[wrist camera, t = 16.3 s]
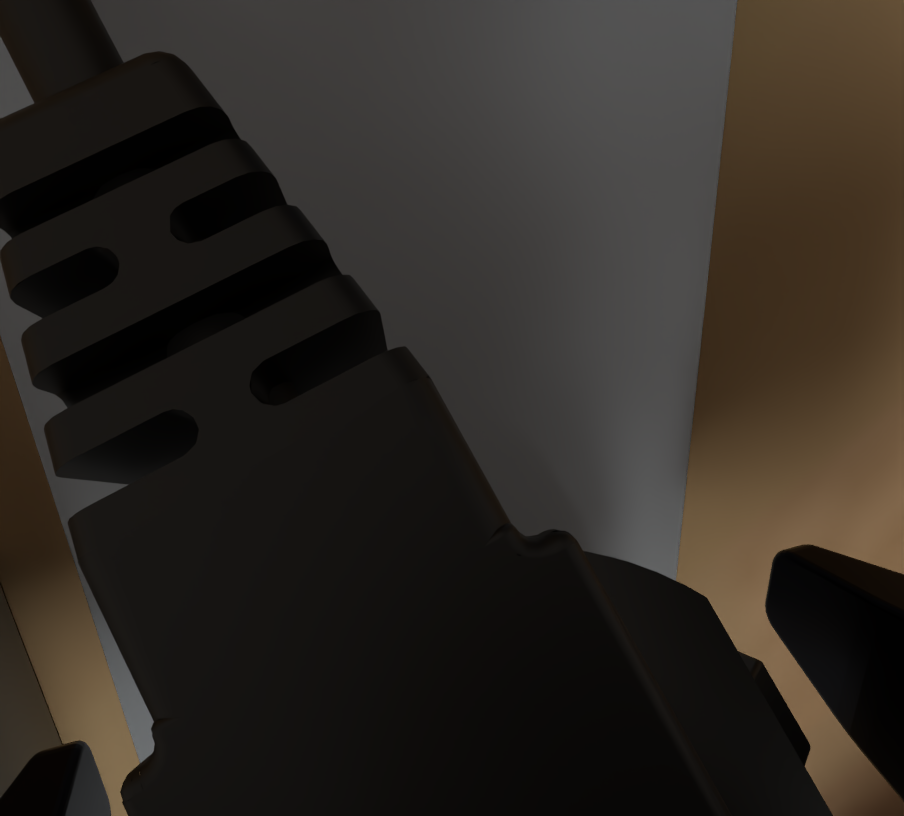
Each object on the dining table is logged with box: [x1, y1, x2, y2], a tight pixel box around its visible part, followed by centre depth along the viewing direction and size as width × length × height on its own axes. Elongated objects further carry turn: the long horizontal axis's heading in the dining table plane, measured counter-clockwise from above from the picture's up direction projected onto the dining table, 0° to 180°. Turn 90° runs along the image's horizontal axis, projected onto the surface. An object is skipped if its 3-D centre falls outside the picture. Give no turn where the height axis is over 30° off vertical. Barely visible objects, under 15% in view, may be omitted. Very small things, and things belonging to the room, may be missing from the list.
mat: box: [0, 0, 737, 763], centre depth 10 cm, size 14×8×1 cm, turn 3°
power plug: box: [0, 0, 833, 816], centre depth 7 cm, size 6×8×12 cm
